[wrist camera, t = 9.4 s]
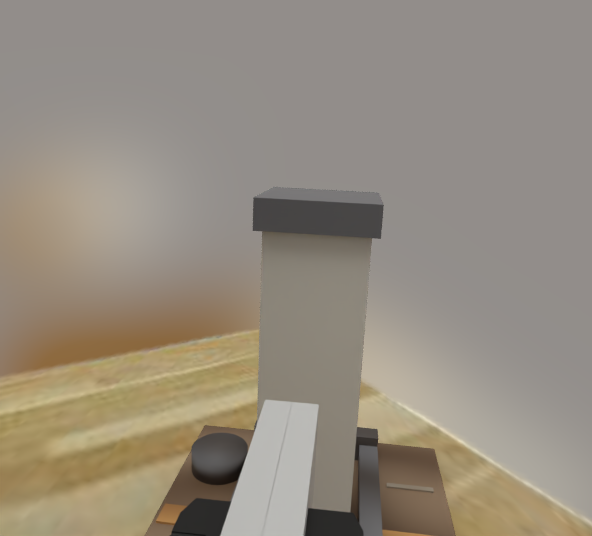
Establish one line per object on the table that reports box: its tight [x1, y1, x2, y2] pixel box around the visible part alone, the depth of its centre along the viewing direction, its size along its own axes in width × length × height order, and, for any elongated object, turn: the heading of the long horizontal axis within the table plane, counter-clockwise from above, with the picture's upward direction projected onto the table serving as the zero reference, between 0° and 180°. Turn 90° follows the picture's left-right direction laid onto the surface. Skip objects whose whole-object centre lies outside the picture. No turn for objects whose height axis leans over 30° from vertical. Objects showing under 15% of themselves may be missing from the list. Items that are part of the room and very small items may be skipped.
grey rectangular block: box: [253, 187, 384, 512], centre depth 22 cm, size 5×5×15 cm
